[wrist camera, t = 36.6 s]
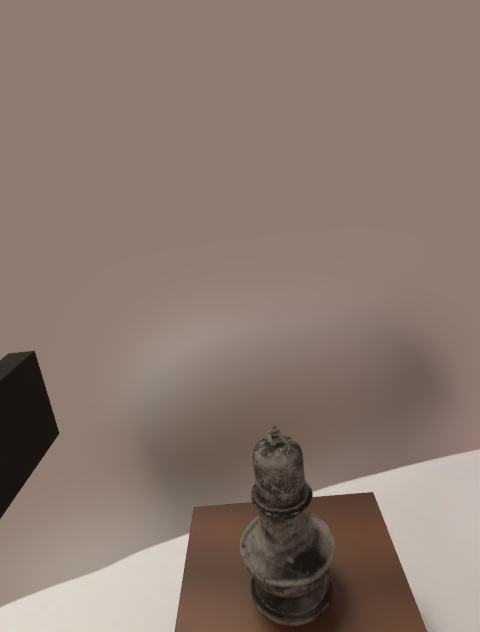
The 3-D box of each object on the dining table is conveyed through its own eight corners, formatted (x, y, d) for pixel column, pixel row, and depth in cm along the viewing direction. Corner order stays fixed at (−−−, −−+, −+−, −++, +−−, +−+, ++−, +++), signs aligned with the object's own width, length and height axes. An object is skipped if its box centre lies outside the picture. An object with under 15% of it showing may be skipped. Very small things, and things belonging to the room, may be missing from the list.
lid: (195, 514, 36) (193, 506, 36) (373, 499, 35) (372, 491, 35) (163, 728, 22) (161, 718, 22) (453, 711, 21) (454, 701, 21)
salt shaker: (265, 538, 32) (247, 394, 28) (346, 560, 29) (339, 405, 25) (230, 611, 27) (202, 448, 23) (324, 646, 24) (311, 470, 20)
